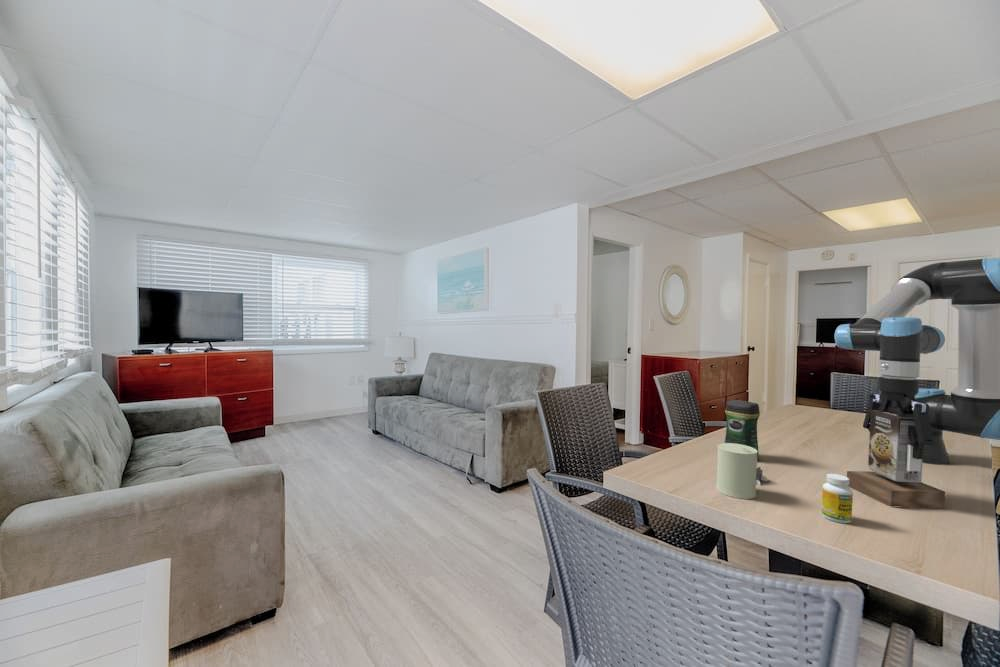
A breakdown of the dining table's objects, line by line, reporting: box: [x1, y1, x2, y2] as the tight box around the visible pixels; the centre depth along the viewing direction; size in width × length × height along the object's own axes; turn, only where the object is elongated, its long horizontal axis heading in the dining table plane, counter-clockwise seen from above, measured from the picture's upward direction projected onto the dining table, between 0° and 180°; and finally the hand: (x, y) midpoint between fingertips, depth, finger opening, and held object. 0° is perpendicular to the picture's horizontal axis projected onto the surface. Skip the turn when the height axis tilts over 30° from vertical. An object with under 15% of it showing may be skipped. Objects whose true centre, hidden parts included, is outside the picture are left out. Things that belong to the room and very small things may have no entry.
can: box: [715, 442, 759, 500], centre depth 108 cm, size 9×9×12 cm
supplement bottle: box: [821, 473, 854, 524], centre depth 94 cm, size 5×5×10 cm
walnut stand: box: [846, 470, 946, 509], centre depth 107 cm, size 13×13×4 cm
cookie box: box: [867, 410, 924, 483], centre depth 107 cm, size 9×6×16 cm
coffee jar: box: [724, 399, 761, 459], centre depth 137 cm, size 10×8×19 cm
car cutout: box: [756, 466, 768, 486], centre depth 118 cm, size 15×7×4 cm, turn 127°
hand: (894, 463), depth 107 cm, fingers closed on cookie box, 9 cm apart
